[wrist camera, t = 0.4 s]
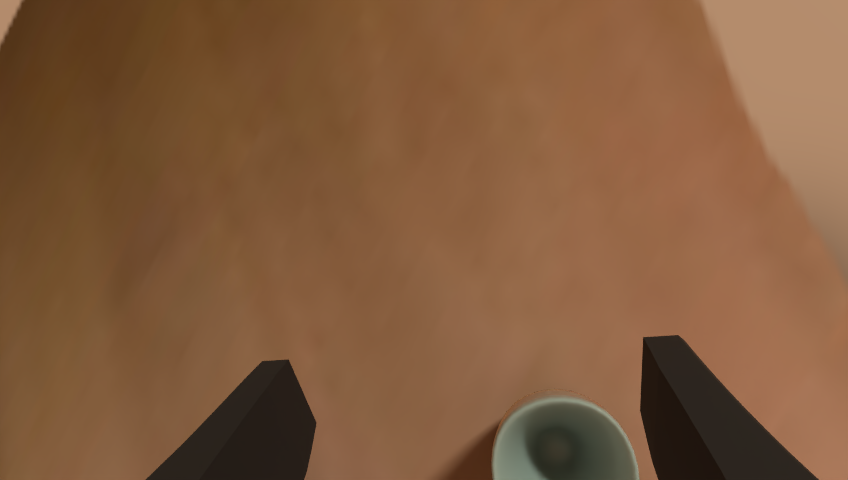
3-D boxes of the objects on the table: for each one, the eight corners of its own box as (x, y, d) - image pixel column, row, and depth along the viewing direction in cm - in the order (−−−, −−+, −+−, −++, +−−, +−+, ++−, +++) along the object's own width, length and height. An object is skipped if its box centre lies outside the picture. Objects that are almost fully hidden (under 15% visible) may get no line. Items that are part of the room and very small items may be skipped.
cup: (509, 502, 37) (502, 558, 27) (492, 389, 39) (479, 404, 29) (622, 493, 36) (657, 549, 26) (600, 377, 37) (624, 388, 28)
